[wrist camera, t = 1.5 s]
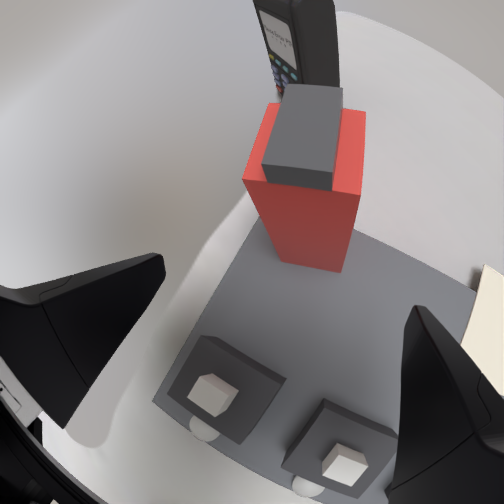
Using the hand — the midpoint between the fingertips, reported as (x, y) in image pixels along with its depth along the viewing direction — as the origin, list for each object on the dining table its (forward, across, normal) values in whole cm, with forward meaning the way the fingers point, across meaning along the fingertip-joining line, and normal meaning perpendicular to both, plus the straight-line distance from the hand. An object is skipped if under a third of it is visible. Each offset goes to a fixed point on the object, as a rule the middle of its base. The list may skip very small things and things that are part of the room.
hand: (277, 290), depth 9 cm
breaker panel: (+7, -7, +11) cm, 14 cm away
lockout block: (+12, 0, +3) cm, 12 cm away
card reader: (+25, +4, -7) cm, 26 cm away
